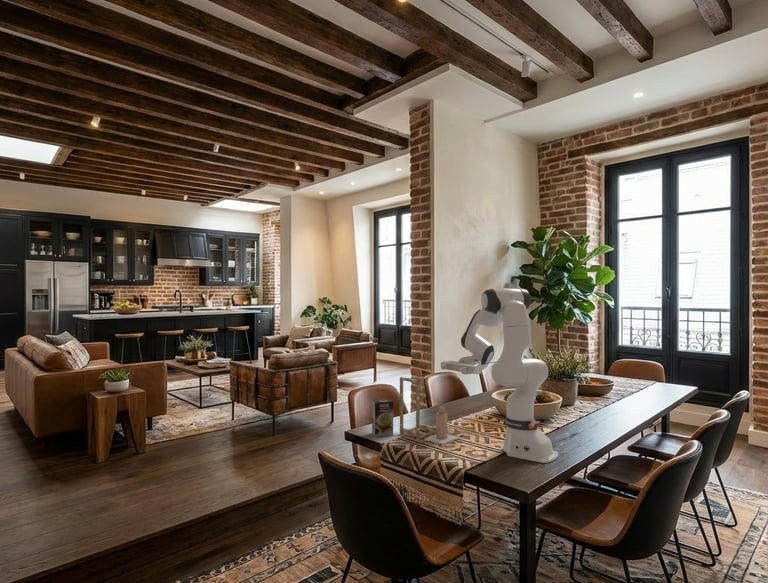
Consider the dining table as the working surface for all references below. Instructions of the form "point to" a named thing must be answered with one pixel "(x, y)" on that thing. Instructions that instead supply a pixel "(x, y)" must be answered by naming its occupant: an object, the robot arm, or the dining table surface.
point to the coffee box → (382, 417)
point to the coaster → (441, 441)
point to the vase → (441, 423)
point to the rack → (418, 425)
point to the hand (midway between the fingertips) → (450, 368)
